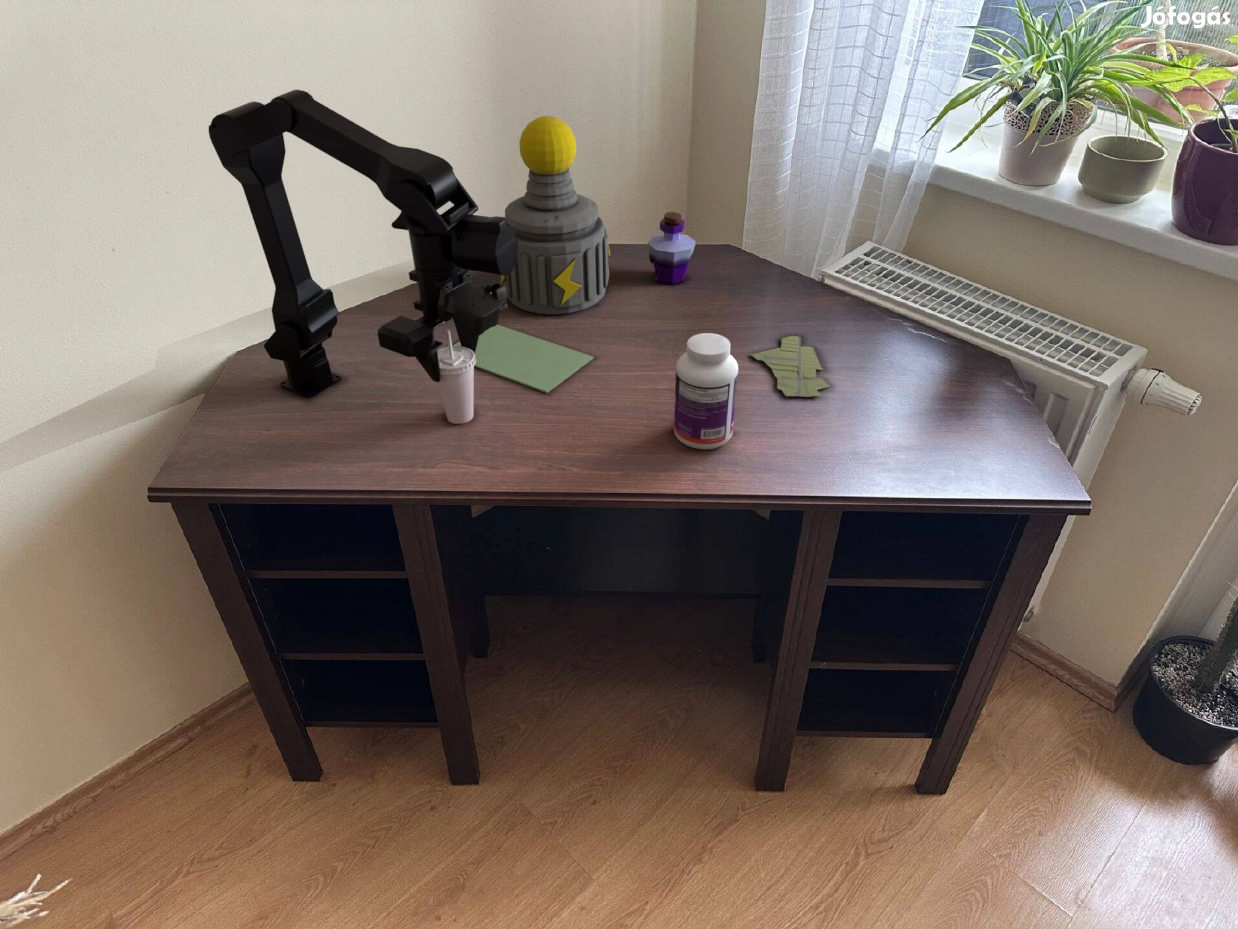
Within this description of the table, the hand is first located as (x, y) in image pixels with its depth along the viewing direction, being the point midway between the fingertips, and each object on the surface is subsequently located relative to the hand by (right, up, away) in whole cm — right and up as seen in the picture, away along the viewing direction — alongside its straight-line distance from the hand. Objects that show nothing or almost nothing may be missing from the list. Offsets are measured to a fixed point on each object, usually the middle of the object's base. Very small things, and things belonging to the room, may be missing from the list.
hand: (453, 370), depth 119 cm
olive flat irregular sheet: (+48, +2, +15) cm, 51 cm away
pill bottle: (+34, -9, 0) cm, 35 cm away
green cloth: (+7, +4, +18) cm, 19 cm away
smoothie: (0, -6, +5) cm, 8 cm away
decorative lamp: (+12, +17, +35) cm, 41 cm away
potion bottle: (+32, +21, +40) cm, 55 cm away
